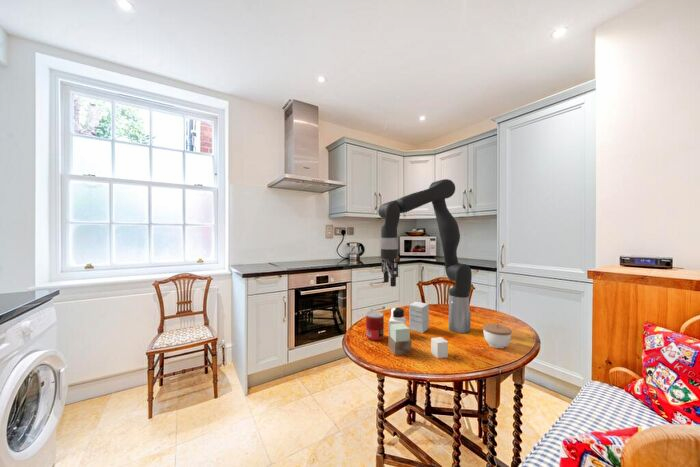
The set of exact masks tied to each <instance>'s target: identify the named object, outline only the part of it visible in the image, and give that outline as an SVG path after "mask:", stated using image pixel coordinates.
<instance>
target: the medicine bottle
mask: <svg viewBox="0 0 700 467" xmlns="http://www.w3.org/2000/svg"><path fill="white" fill-rule="evenodd" d="M390 310H391V311H390V318H389V320H388V336H390V324H400V323H404V324H405V325H406V326H407V324H406V323H407V318H406V317H405V310H404V308H401V307H393V308H391V309H390Z"/></svg>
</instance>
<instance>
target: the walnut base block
mask: <svg viewBox="0 0 700 467" xmlns="http://www.w3.org/2000/svg"><path fill="white" fill-rule="evenodd" d="M387 338H388V344H387V346H388V348H389V350H390V351H391V353H392V354H394V356H398V355H400V356H401V355H407V354H412V340H410V341H403V342H395V341H394V340H393V339H392V338H391V337H390V335H388V337H387Z"/></svg>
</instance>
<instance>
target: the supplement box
mask: <svg viewBox="0 0 700 467" xmlns="http://www.w3.org/2000/svg"><path fill="white" fill-rule="evenodd" d="M408 306H409V308H408V310H409V311H408V314H409V317H408V318H409V324H408V328H410V331H414V332H418V333H421V334H423V333H425V332H426V331H427V330H429V324H430V323H429V322H430V320H429V319H430V316H429V315H430V312H429V310H430V304H429V303H425V302H419V301H414V302H412V303H410V304H409V305H408Z"/></svg>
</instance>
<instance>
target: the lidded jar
mask: <svg viewBox="0 0 700 467" xmlns="http://www.w3.org/2000/svg"><path fill="white" fill-rule="evenodd" d="M482 329H483V330H482V331H483V337H484V340H485V341H486V343H488V344H487V345H489V347H491V346H492V347H491V348H494V347H495V349H498V348H503V349H505V348H506V347H508V346H509V344H510V342H511V339H512V332H513V331H512V328H510V327H508V326H506V325H503V324H499V323H492V322H490V323H484V324H483V325H482ZM504 347H505V348H504Z"/></svg>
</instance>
